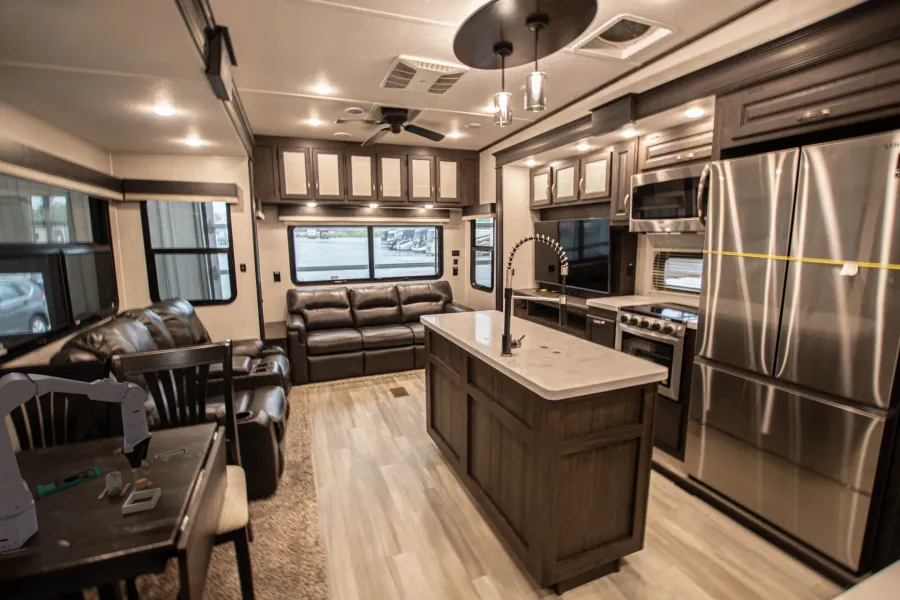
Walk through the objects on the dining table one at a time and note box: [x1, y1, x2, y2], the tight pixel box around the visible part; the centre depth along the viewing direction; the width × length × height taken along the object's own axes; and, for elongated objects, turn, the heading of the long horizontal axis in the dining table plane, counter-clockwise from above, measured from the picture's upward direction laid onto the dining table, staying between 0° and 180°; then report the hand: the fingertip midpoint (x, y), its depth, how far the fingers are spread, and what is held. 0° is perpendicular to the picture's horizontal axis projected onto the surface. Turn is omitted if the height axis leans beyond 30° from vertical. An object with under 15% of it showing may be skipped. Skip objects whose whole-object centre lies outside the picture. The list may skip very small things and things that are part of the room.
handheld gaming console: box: [154, 447, 189, 459], centre depth 146 cm, size 10×2×15 cm
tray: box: [121, 487, 162, 515], centre depth 119 cm, size 7×7×4 cm
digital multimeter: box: [37, 467, 101, 499], centre depth 131 cm, size 7×15×3 cm, turn 140°
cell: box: [104, 471, 123, 496], centre depth 125 cm, size 4×4×6 cm
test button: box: [134, 477, 149, 490], centre depth 127 cm, size 3×3×2 cm
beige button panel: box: [97, 481, 153, 501], centre depth 126 cm, size 11×14×2 cm
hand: (139, 463), depth 127 cm, fingers open, 4 cm apart
